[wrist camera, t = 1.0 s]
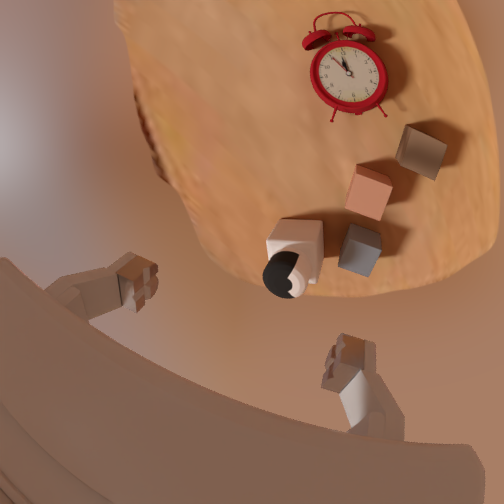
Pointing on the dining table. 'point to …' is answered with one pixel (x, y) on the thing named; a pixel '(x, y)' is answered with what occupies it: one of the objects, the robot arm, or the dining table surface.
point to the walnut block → (420, 152)
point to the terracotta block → (368, 192)
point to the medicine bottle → (294, 256)
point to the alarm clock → (347, 70)
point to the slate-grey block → (360, 250)
